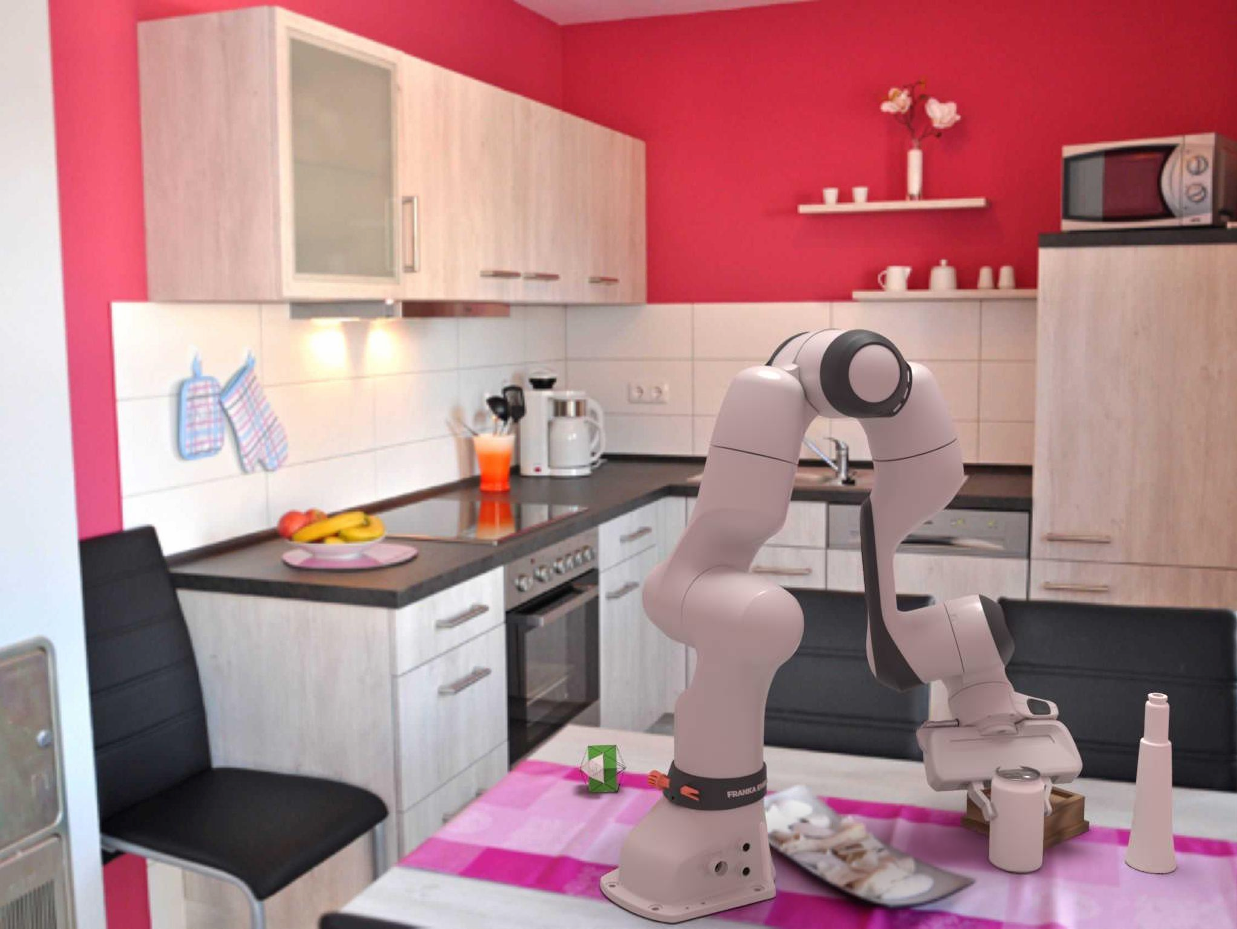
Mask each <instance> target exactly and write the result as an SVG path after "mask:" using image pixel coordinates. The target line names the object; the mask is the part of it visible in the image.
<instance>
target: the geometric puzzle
mask: <svg viewBox="0 0 1237 929" xmlns="http://www.w3.org/2000/svg"><path fill="white" fill-rule="evenodd" d="M618 748H619V747H618V746H617V744H607V745H606V744H602V745H598V744H597V745H590V744H589V745H588V744H587V748H586V750H585V753H584V755H583V758H582V762H581V764H580V767H579V769H578V770H579V773H581V774H583V773H584V774H585V775H587V776H588V784H586V779H585V777H584V776H583V775H581V777H582V778H583V782H584V784H585V786H586V788H587V791H588V793H589V792H593V793H606V792H605V791H618V792H619V790H620V789H619V788H620V785H621V782H622V780H623V778H624V775H625V771H626V769H627V767H626V765H625V764H624V759H623V757H622V756H621V754H620V750H619V749H618ZM617 751H618V756H619V757H620V761H621V762H622V764H621V763H620V762H618V761H617ZM586 753H587V757H588V758H587V762H586V763H584V764H583V761H584V759H585V756H586ZM582 765H583V766H582ZM618 766H619V767H618ZM618 769H621V770H620V771H618ZM622 771H623V772H622ZM621 772H622V774H621V778H620V781H619V784H618V775H619V774H620V773H621ZM587 785H588V786H587Z"/></svg>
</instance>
